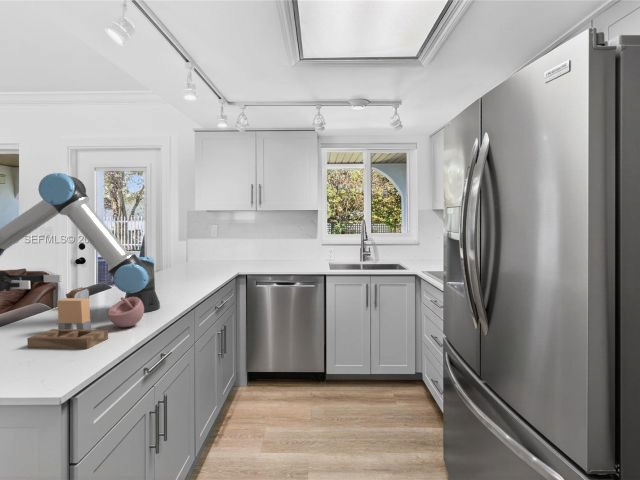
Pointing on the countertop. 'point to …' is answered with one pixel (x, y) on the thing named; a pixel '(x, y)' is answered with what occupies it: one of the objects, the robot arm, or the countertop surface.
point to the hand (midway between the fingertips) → (45, 281)
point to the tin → (79, 293)
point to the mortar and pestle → (126, 312)
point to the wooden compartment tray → (68, 338)
